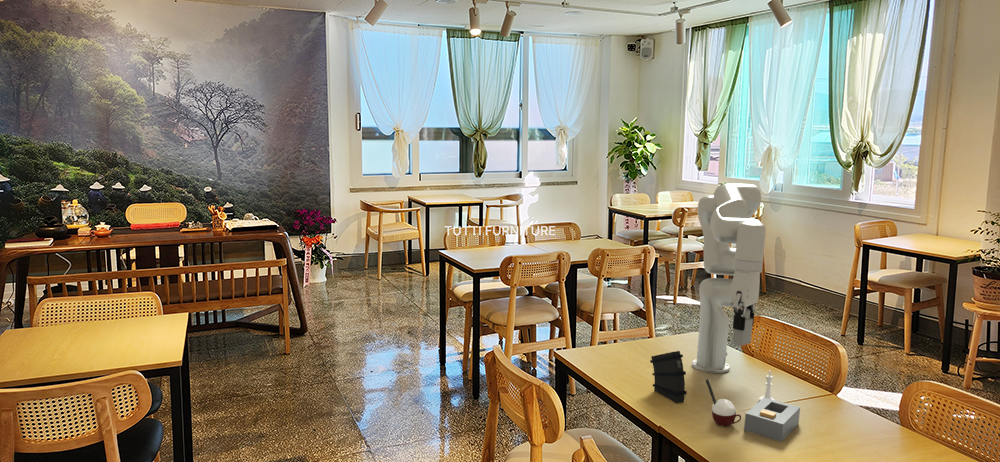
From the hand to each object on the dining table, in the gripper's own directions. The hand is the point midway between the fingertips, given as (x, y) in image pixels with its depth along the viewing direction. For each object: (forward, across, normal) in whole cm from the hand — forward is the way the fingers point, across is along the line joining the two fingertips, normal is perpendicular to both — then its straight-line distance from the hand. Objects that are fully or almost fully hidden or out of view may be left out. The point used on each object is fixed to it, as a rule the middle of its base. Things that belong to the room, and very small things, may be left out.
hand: (743, 326), depth 192 cm
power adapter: (+5, 0, 0) cm, 5 cm away
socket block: (+26, +3, +11) cm, 28 cm away
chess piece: (+26, -14, +4) cm, 30 cm away
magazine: (+26, +3, -21) cm, 33 cm away
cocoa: (+26, +10, 0) cm, 28 cm away
